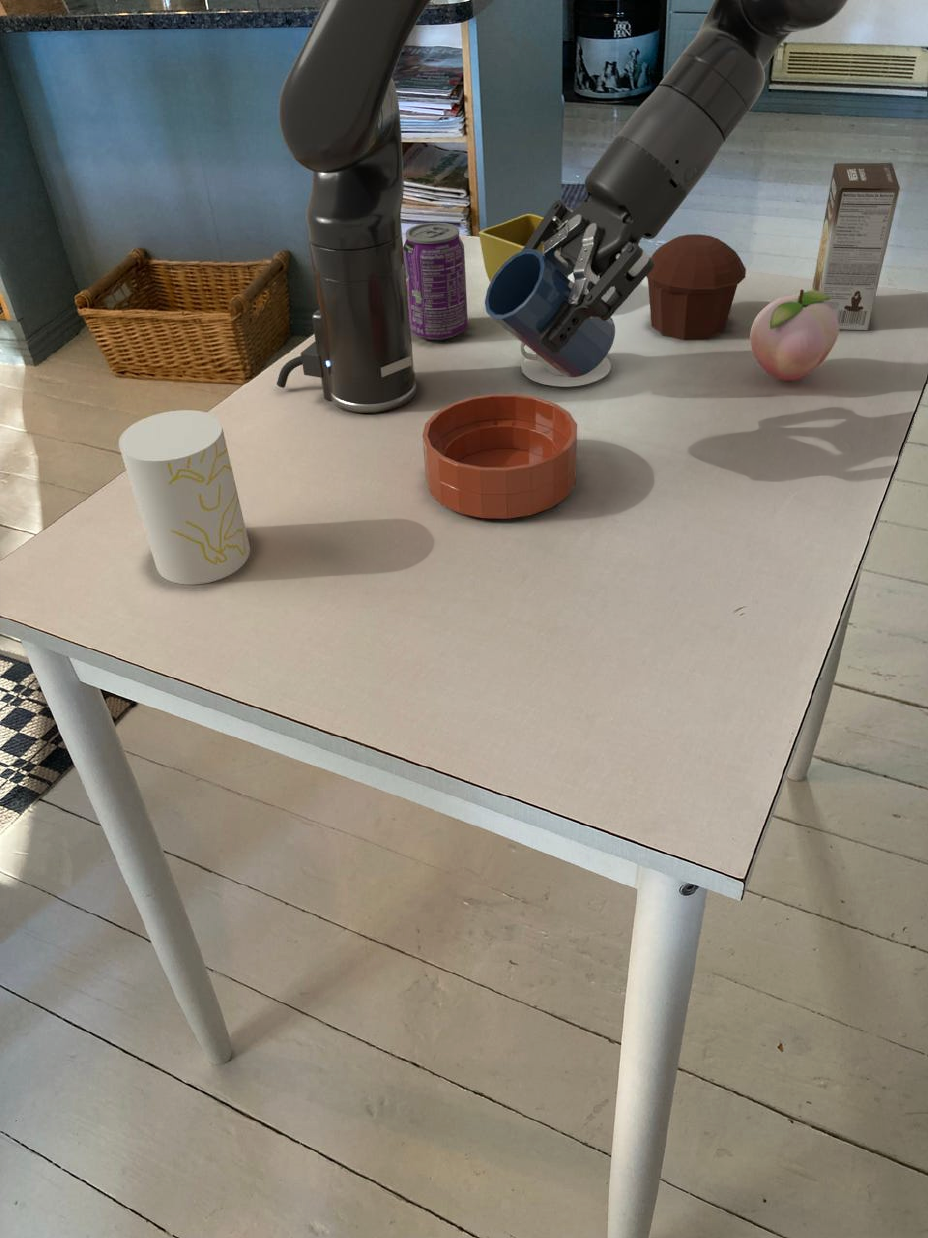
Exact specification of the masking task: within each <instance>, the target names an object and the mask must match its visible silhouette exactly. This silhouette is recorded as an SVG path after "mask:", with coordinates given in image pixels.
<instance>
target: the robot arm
mask: <svg viewBox="0 0 928 1238" xmlns="http://www.w3.org/2000/svg"><path fill="white" fill-rule="evenodd" d="M848 1H849V0H714V1H713V3H712V5H711V6H710V8H709V10H708V12H707V14H706V15H705V17H704V18H703V20H702V23H701V25H700V28H699V30H698V31H697V34H696V35H695V37H694V39H692V41H691V42H690V43H689V45H687V47H686V48H685V49H684V50H683V51H682V53H681V54H680V56H679V57H678V58H677V59H676V61H675V62H674V63H673V65H672V66H671V67H670V68H669V70H668V72H667V73H666V74H665V75H664V77H663V78H662V80H661V81H660V82H659V84H658V85H657V87H656V88H655V89H654V91H652V93H650V95H649V96H648V97H647V98H646V99H645V100H644V101H643V102H642V103H641V104H640V105H639V106H638V108H637V109H636V110H635V111H634V112H633V114H632V115H631V116H630V118H629V119H628V120H627V122H626V123H625V125H624V126H623V127H622V128H621V130H620V131H619V133H618V134H617V135H616V137H615V138H614V139H613V141H612V142H611V143H610V144H609V146H608V147H607V148H606V150H605V152H604V153H603V154H602V155H601V157H600V158H599V160H598V161H597V162H596V164H594V166H593V167H592V169H591V170H590V171H589V173H588V174H587V175H586V177H585V180H584V187H585V189H586V191H587V196H586V198H585V199H584V200H583V201H582V202H581V203H580V204H579V205H578V206H576V207H575V208H574V209H571V208H569V207H568V206H567V205H566V204H565V203H564V202H563V201H562V200H561V199H558V200H555V201H554V202H553V203H552V205H551V206H550V208H549V209H548V210H547V212H546V214H545V215H544V216H543V220H542V221H541V223H540V224H539V226H538V227H537V229H536V230H535V232H534V233H533V235H532V236H531V238H530V239H529V241H528V242H527V244H526V245H525V247H524V248H523V250H522V251H524V250H537V248H538V247H539V245H540V244H541V242H543V243H544V244H543V246H542V248H543V250H542V251H541V252H540V254H542V255H543V256H544V257H545V258H546V259H547V260H548V261H549V262H551V263H552V264H553V265H554V266H555V267H556V268H557V269H558V270H559V271H560V272H562V273H563V274H564V275H565V276H568V275H569V276H570V275H571V274H572V276H573V278H574V281H573V283H574V284H573V287H572V289H571V292H570V295H569V298H568V303H569V304H567V303H565V302H563V304H562V305H561V306H560V308H559V309H558V310H557V312H556V313H555V314H554V315H553V317H552V318H551V319H550V321H549V322H548V323H547V325H546V326H545V327H544V329H543V330H542V331H541V332H540V334H539V336H538V340H539V342H540V343H542V344H543V345H544V346H545V347H547V348H548V349H549V350H550V351H552V352H553V353H557V352H559V351H560V349H561V348H562V347H564V346H565V345H566V344H567V342H568V341H569V339H570V338H571V337H572V335H574V333H575V332H576V331H577V329H578V328H579V327H580V325H581V324H582V323H583V322H584V321H585V320H586V319H591V318H593V317H599V318H601V319H602V320H603V321H606V320H608V319H609V318H610V317H611V318H612V317H613V315H614V314H615V313H616V312H617V310H618V309H619V308H620V307H621V306H622V305H623V304H624V303H625V301H626V300H627V299H628V298H629V297H630V296H631V294H632V293H633V292H634V291H635V290H636V289H637V288H638V286H639V285H640V284H641V283H642V282H643V280H644V279H646V278H647V277H646V276H647V275H648V273H649V272H650V271H651V270H652V269H653V267H654V261H653V260H652V259H651V257H650V255H649V254H648V253H647V252H646V251H645V250H644V249H643V248H641V246H639V243H640V242H641V240H642V239H645V240H653V239H655V238H656V237H657V236H658V235H659V233H660V232H661V231H662V229H663V228H664V227H665V225H666V224H667V223H668V222H669V220H670V219H671V217H672V216H673V215H674V214H675V212H676V211H677V210H678V209H679V207H680V206H681V205H682V203H683V202H684V201H685V200H686V198H687V197H688V196H689V194H690V193H691V191H692V190H693V189H694V188H695V187H696V185H697V184H698V183H699V181H700V180H701V179H702V177H703V176H704V175H705V174H706V172H707V171H708V169H709V168H710V166H711V165H712V164H713V162H714V160H715V158H716V156H717V154H718V152H719V151H720V150H721V149H722V147H723V146H724V144H725V142H726V141H727V140H728V139H729V137H730V136H731V134H732V133H733V132H734V131H735V129H736V128H737V127H738V125H739V124H740V123H741V122H742V120H743V119H744V118H745V116H746V115H747V114H748V113H749V112H750V110H751V108H753V106H754V105H755V103H756V102H757V100H758V99H759V97H760V95H761V94H762V91H763V89H764V86H765V83H766V72H765V68H766V67H767V65H768V64H769V62H770V60H771V59H772V57H773V56H774V54H775V53H776V52H777V50H778V49H779V47H781V45H782V43H783V42H784V41H785V40H786V39H787V38H788V37H789V35H790V34H792V33H797V32H801V31H806V30H811V29H815V28H818V27H820V26H823V25H825V24H826V23H828V22H829V21H831V20H832V19H834V18H836V16H837V15H838V14H839V13H840V12H841V11H842V10H843V9H844V8H845V6H846V4H847V3H848ZM431 2H432V0H324V1H323V3H322V6H321V8H320V9H319V11H318V14H317V16H316V18H315V20H314V22H313V24H312V26H311V28H310V30H309V32H308V34H307V36H306V39H305V40H304V43H303V44H302V46H301V48H300V51H299V53H298V54H297V57H296V59H295V60H294V62H293V64H292V65H291V68H290V70H289V72H288V74H287V76H286V78H285V80H284V82H283V85H282V87H281V90H280V94H279V98H278V105H277V108H278V109H277V110H278V111H277V113H278V114H277V115H278V125H279V130H280V133H281V136H282V140H283V142H284V145H285V147H286V148H287V150H288V152H289V153H290V154H291V156H292V157H293V158H294V159H295V161H296V162H298V163H299V164H300V165H301V166H302V167H304V168H305V169H308V170H310V171H312V182H311V189H310V194H309V197H308V202H307V205H306V209H305V225H306V231H307V238H308V243H309V244H308V245H309V250H310V257H311V265H312V271H313V277H314V284H315V291H316V298H317V305H318V310H316V311H315V312H314V313H313V314H312V315H311V316H312V318H311V321H312V328H313V334H314V340H315V341H314V342H312V343H311V344H310V345H308V346H307V347H306V348H304V350H302V351H301V352H300V355H299V356H296V357H294V358H292V359H290V360H288V361H287V362H286V363H285V364H283V366H282V368H281V369H280V371H279V375H278V378H277V381H276V385H277V386H278V387H279V388H283V389H284V388H286V386H287V382H288V379H289V376H290V374H291V372H292V371H293V370H294V369H296V368H297V367H300V366H302V371H303V374H304V376H308V377H314V378H320V380H321V386H322V394H323V399H324V400H327V401H332V403H333V404H334V405H336V406H337V407H338V408H341V409H342V410H345V411H349V412H353V413H354V412H355V413H363V414H364V413H366V414H367V413H368V414H369V413H379V412H385V411H389V410H390V411H391V410H394V409H396V408H399V407H402V406H403V405H405V404H407V403H408V402H410V401H411V400H412V399H413V398H414V397H415V395H416V393H417V381H416V380H417V379H416V375H415V373H416V372H415V368H414V367H415V366H414V356H413V355H414V354H413V344H412V332H411V331H410V319H409V308H408V296H407V285H406V273H405V262H404V251H403V247H404V241H403V232H402V231H403V230H402V229H403V228H402V206H403V205H402V204H403V200H404V193H405V192H404V189H405V182H404V181H405V179H404V160H403V157H404V156H403V141H402V139H403V137H402V123H401V122H402V121H401V112H400V103H399V98H398V93H397V88H396V85H395V82H394V79H393V75H394V72H395V70H396V68H397V65H398V62H399V60H400V57H401V55H402V53H403V50H404V48H405V46H406V44H407V42H408V40H409V38H410V35H411V34H412V32H413V30H414V28H415V27H416V25H417V23H418V21H419V20H420V18H421V16H422V15H423V14H424V13H425V11H426V9H427V8H428V6H429V5H430V3H431ZM560 247H561V253H560V252H559V251H558V250H559V249H560ZM569 276H568V277H569ZM612 288H614V292H613V293H612V294H611V295H610V296H609V297H608V299H607V300H604V299H603V297H604V296H605V295H607V294H609V292H610V289H612ZM586 291H588V292H587V293H586Z"/></svg>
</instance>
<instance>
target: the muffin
mask: <svg viewBox="0 0 928 1238" xmlns="http://www.w3.org/2000/svg"><path fill="white" fill-rule="evenodd" d="M650 258H651V259H652V260H653V261H654V267H653V269H652V270H651V271H650V272H649V273H648V275H647V276H646V277H645V278H647V286H648V287H647V288H648V301H649V312H650V313H649V314H650V323H651V324H650V325H651V327H652V328H653V329H655V330H656V331H657V332H658V333H660V335H662V336H665V337H671V338H675V339H679V340H683V341H688V340H708V339H710V338H712V337H714V336H716V335H720V334H723V333H724V332H725V330H726V326H727V323H728V320H729V316H730V312H731V309H732V306H733V302H734V298H735V296H736V291H737V288H738V285H739V284H740V283H741V282H742V281H744V280H745V278H746V275H747V268H746V266H745V265H744V263H743V261H742V259H741V257H740V256H739V254H738V252H737V251H735V250H734V248H732V247H731V246H730V245H728V244H727V243H725V242H724V241H722V240H721V239H720V238H717V237H714V236H712V235H707V234H700V233H698V234H693V233H692V234H684V235H679V236H676V237H673V238H672V239H670V240H669V241H667V242H665V243H664V244H662V245H660V246H659V247H658V248H657V249H655V251H654V252H653V253H652V255H651V257H650Z"/></svg>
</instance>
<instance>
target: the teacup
mask: <svg viewBox="0 0 928 1238" xmlns="http://www.w3.org/2000/svg"><path fill="white" fill-rule="evenodd" d="M525 346H526V345H525V344H524V343H523V342H521V341H520V353H521V355H522V356H523V358H524V359H523V360H522V362H521V365H520V369H521V373H523V375H524V376H525V377H527V378H528V379H529V380H531V381H533V382H536V383H538V384H542V385H546V386H550V387H551V386H552V387H563V388H564V387H579V386H584V385H588V384H593V383H595V382H597V381H600V380H601V379H603V378H605V377H606V376H607V375H608V374H609V373H610V371H611V368H612V363H611V360H609V358H608V357H607V356H606V357H605V358H604V359H603V361H602V362H601V363H600V364H599V365H598V366H597V367H596V368H594V369H593V370H592V371H590V372H589V373H587V374H585V375H583V376H579V377H567V376H565V375H563V374H562V373H560V372H559V371H558V370H557V369H555V368H554V367H553V366H552V365H550V364H549V363H548V362H547V361H545V360H544V359H543V358H542V357H540V356H539V355H538V354H537V353H535V352H533V353H529V352H526V350H525Z"/></svg>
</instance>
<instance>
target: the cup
mask: <svg viewBox="0 0 928 1238" xmlns="http://www.w3.org/2000/svg"><path fill="white" fill-rule="evenodd" d="M118 447H119V451H120V454H121V457H122V461H123V464H124V466H125V470H126V473H127V476H128V479H129V480H128V481H129V483H130V487H131V490H132V493H133V496H134V500H135V502H136V503H135V504H136V507H137V509H138V512H139V515H140V519H141V522H142V525H143V529H144V532H145V536H146V539H147V541H148V545H149V548H150V552H151V555H152V558H153V561H154V565H155V567H156V568H155V569H156V570H157V572H158V574H159V575H160V576H161V577H162V578H163V579H165V580H166V581H168V582H171V583H174V584H178V585H179V584H180V585H186V586H187V585H189V586H192V585H193V586H195V585H203V584H210V583H213V582H216V581H219V580H222V579H225V578H226V577H228V576H231V575H232V574H234V573H235V572H236V571H238V570H240V569H241V568H242V567H243V566H244V565H245V563H246V562H247V561H248V559H249V556H250V554H251V545H250V542H249V537H248V533H247V529H246V524H245V520H244V517H243V511H242V508H241V503H240V498H239V494H238V490H237V485H236V480H235V476H234V473H233V467H232V463H231V460H230V459H231V458H230V455H229V449H228V446H227V442H226V436H225V433H224V428H223V424H222V423H221V421H220V419H219V418H218V417H216V416H215V415H213V414H211V413H208V412H205V411H202V410H193V409H192V410H191V409H179V410H170V411H164V412H160V413H156V414H152V415H150V416H147V417H145V418H143V419H140V420H138V421H136V422H135V423H133V424H131V425H130V426H129V427H128V428H126V429H125V430H124V431H123V432H122V434H121V435H120V437H119V439H118Z"/></svg>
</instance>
